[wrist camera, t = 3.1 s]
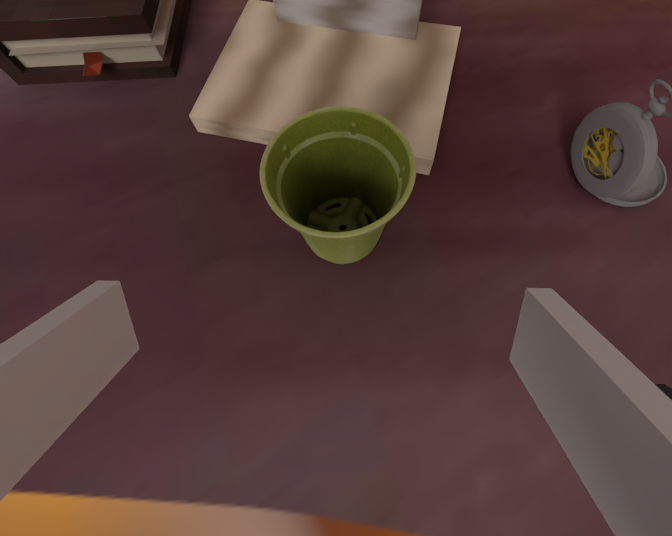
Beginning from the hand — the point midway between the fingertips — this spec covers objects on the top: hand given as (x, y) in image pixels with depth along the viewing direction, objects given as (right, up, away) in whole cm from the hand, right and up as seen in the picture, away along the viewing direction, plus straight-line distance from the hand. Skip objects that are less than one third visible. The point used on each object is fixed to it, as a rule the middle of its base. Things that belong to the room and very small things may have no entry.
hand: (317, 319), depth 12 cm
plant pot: (+1, +5, +18) cm, 18 cm away
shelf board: (0, +20, +23) cm, 30 cm away
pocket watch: (+23, +9, +18) cm, 31 cm away
